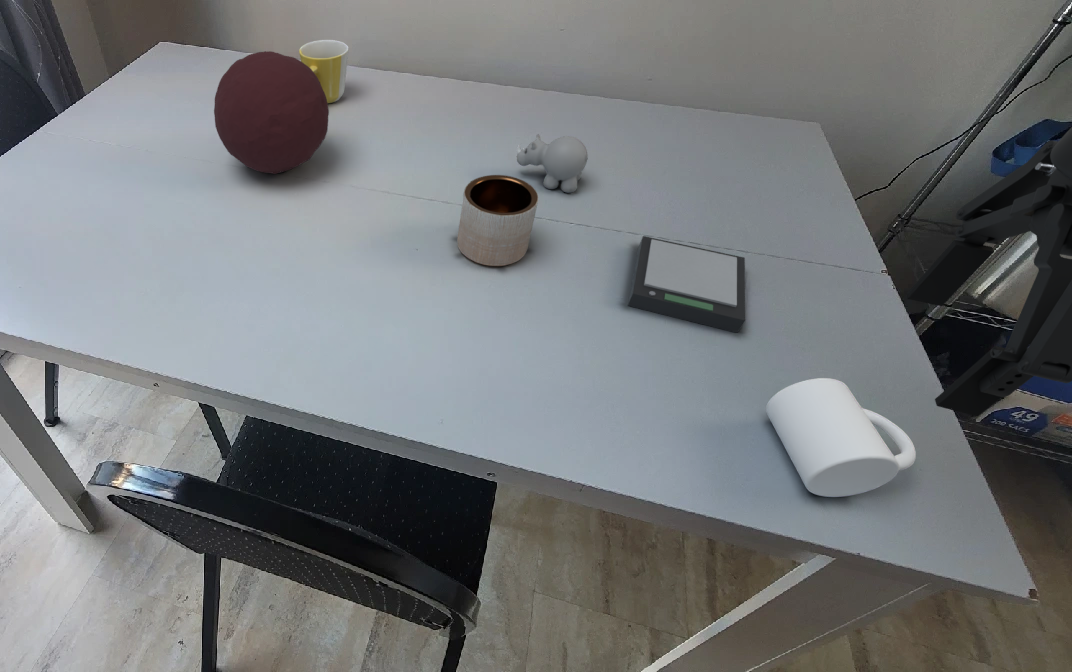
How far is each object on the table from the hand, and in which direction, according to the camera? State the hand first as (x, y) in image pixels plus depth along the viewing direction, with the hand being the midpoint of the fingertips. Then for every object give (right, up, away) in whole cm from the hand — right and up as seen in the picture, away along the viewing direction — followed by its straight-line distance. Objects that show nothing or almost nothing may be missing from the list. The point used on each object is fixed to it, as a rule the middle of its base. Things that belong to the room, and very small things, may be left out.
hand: (938, 350), depth 52 cm
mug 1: (-58, +52, +78) cm, 110 cm away
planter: (-30, +15, +41) cm, 53 cm away
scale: (-4, +8, +34) cm, 35 cm away
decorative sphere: (-65, +33, +60) cm, 94 cm away
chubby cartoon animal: (-17, +29, +54) cm, 63 cm away
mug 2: (+1, -12, +14) cm, 19 cm away
